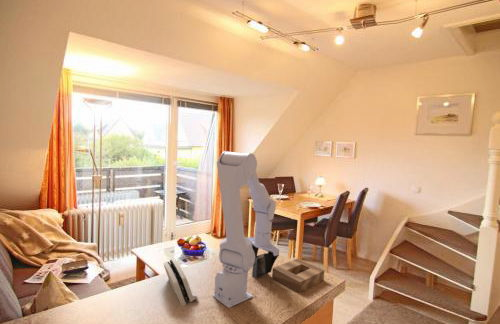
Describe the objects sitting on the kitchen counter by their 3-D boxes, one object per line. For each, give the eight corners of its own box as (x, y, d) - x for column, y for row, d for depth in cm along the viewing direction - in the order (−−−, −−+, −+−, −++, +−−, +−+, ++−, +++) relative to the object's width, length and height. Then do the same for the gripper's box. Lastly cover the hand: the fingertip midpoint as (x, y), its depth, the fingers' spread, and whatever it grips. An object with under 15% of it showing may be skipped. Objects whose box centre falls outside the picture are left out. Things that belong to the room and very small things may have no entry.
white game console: (199, 302, 80) (189, 272, 78) (183, 311, 78) (173, 281, 76) (183, 276, 94) (174, 250, 92) (170, 283, 92) (160, 257, 90)
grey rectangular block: (255, 278, 96) (257, 259, 96) (252, 276, 97) (253, 257, 97) (267, 273, 100) (269, 255, 100) (263, 271, 102) (265, 253, 101)
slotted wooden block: (299, 292, 88) (300, 282, 88) (272, 277, 97) (272, 268, 97) (323, 279, 98) (324, 270, 98) (296, 267, 107) (297, 258, 107)
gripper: (286, 234, 95) (283, 273, 96) (256, 223, 106) (254, 258, 107) (272, 238, 90) (269, 278, 91) (243, 226, 101) (240, 263, 102)
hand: (260, 268), depth 99 cm, fingers open, 7 cm apart
